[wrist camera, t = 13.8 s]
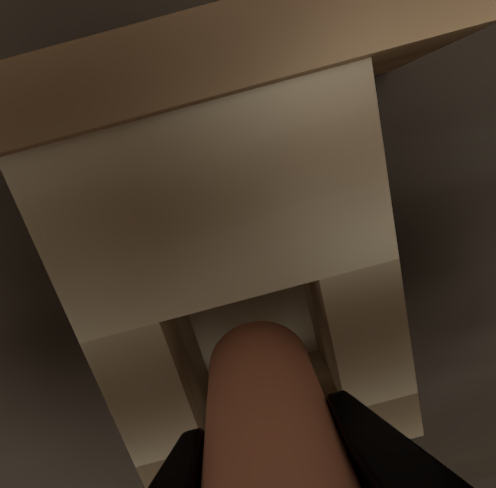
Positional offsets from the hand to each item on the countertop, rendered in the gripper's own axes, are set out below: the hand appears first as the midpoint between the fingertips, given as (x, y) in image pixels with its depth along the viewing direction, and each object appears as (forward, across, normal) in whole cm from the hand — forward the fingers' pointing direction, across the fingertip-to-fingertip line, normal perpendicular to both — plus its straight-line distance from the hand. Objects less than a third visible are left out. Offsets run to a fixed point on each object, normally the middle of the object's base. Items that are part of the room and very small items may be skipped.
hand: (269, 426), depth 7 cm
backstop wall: (+6, 0, -7) cm, 10 cm away
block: (+6, 0, -2) cm, 7 cm away
